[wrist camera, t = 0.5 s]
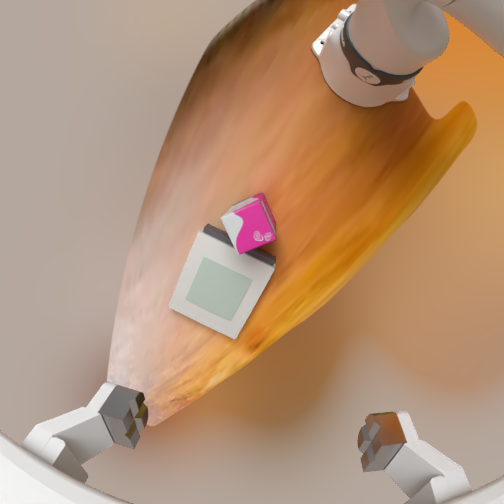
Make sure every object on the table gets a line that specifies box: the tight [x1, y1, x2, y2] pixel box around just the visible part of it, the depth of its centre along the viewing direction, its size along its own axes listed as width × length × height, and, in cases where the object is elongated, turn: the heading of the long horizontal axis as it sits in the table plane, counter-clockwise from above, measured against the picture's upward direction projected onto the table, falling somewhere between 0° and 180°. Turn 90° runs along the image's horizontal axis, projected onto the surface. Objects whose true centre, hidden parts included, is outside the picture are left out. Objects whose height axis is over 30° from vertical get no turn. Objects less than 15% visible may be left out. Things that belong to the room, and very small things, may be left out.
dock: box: [168, 224, 275, 339], centre depth 50 cm, size 17×14×3 cm
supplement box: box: [220, 193, 276, 255], centre depth 42 cm, size 6×6×12 cm
